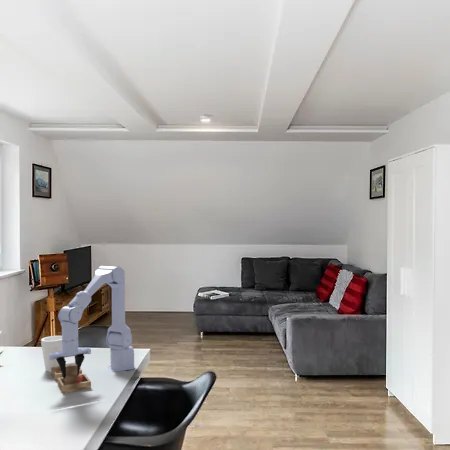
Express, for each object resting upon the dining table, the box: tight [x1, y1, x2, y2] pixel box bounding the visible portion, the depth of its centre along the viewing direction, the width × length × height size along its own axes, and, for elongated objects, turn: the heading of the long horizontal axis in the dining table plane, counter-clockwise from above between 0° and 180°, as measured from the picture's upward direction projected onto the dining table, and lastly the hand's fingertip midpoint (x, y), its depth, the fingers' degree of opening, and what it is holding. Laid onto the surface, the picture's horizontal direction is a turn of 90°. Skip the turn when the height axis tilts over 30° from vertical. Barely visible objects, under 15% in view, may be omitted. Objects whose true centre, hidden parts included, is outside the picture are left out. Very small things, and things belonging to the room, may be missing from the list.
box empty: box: [50, 366, 83, 382], centre depth 181 cm, size 10×10×3 cm
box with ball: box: [57, 373, 92, 394], centre depth 168 cm, size 10×10×3 cm
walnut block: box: [64, 362, 78, 384], centre depth 166 cm, size 4×4×6 cm
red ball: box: [75, 375, 83, 383], centre depth 170 cm, size 3×3×3 cm
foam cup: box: [40, 335, 62, 373], centre depth 190 cm, size 10×9×13 cm
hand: (70, 376), depth 166 cm, fingers closed on walnut block, 4 cm apart
